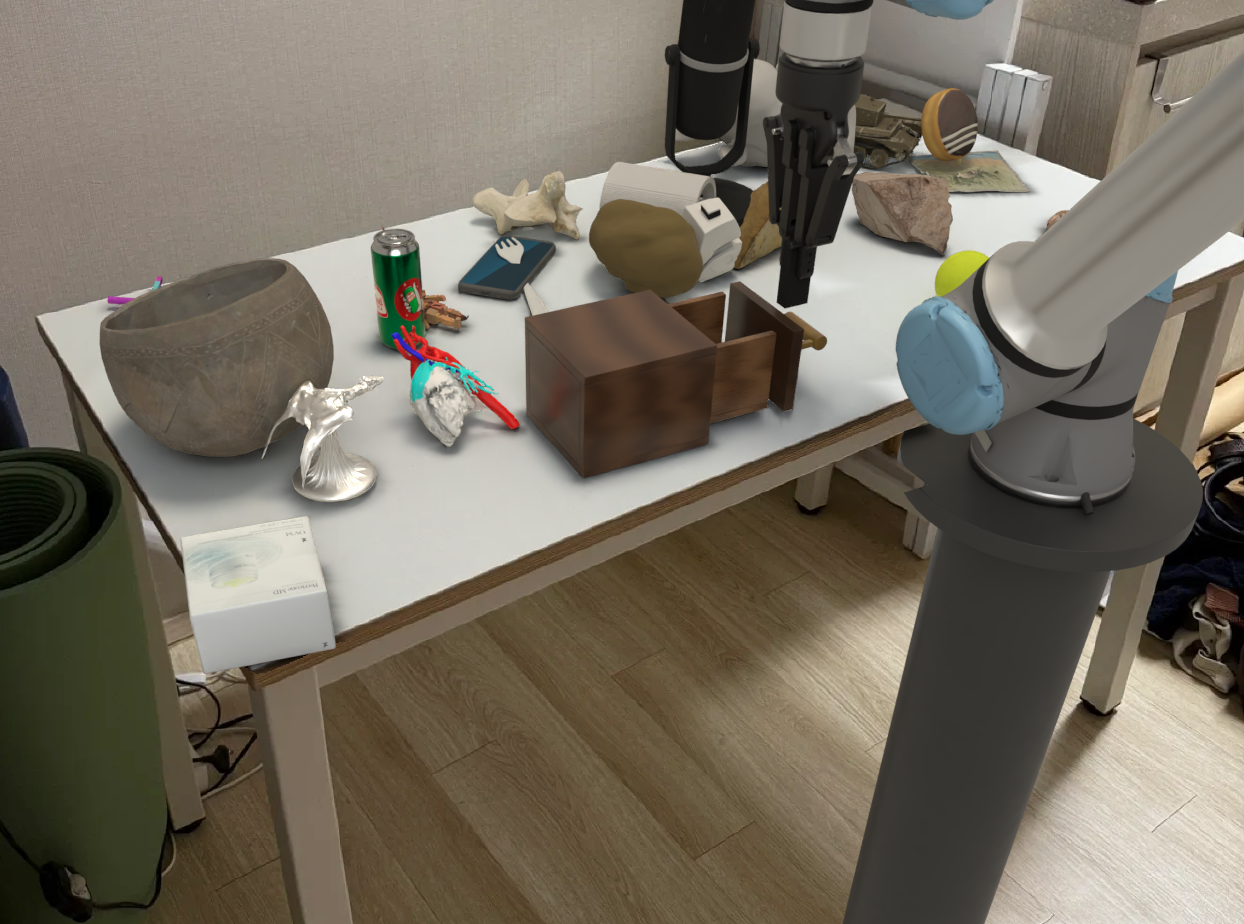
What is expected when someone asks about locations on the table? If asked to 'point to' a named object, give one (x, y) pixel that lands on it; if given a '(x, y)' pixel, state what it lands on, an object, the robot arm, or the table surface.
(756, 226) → the rock
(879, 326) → the table surface
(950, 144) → the doughnut
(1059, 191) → the table surface
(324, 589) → the cosmetics box
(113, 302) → the squeegee
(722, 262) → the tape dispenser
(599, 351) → the cabinet
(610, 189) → the cup
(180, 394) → the bowl
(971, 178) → the topographic map
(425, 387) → the anatomical heart model
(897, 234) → the stone
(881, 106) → the toy tank
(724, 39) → the microphone
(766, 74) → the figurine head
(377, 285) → the soda can
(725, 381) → the drawer
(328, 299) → the table surface
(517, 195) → the decorative object
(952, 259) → the tennis ball
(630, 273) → the decorative stone
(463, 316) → the armored character
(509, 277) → the smartphone
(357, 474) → the figurine
